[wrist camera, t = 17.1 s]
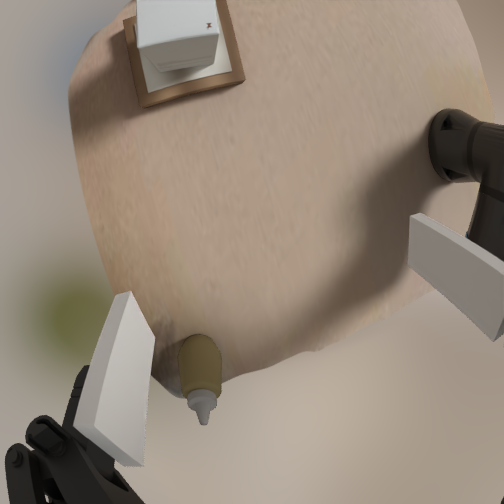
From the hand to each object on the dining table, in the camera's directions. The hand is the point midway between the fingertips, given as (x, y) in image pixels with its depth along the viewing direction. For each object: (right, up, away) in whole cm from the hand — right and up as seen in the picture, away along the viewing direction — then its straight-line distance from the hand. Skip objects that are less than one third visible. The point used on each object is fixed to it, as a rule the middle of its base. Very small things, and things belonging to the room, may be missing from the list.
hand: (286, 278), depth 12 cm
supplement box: (-10, +28, +16) cm, 33 cm away
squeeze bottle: (-12, -17, +40) cm, 45 cm away
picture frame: (-11, +29, +19) cm, 36 cm away
